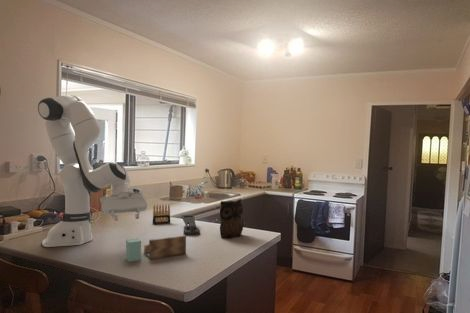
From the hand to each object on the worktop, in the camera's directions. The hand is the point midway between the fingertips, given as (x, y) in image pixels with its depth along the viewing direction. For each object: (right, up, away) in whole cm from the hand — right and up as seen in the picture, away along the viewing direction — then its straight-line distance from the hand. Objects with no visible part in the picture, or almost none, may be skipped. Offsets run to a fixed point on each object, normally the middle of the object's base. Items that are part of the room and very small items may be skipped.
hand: (126, 219), depth 156 cm
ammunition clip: (+4, -13, +56) cm, 58 cm away
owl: (+46, -15, +30) cm, 57 cm away
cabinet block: (+6, -15, -11) cm, 20 cm away
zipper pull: (+23, -14, +40) cm, 49 cm away
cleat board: (+18, -15, -3) cm, 24 cm away
